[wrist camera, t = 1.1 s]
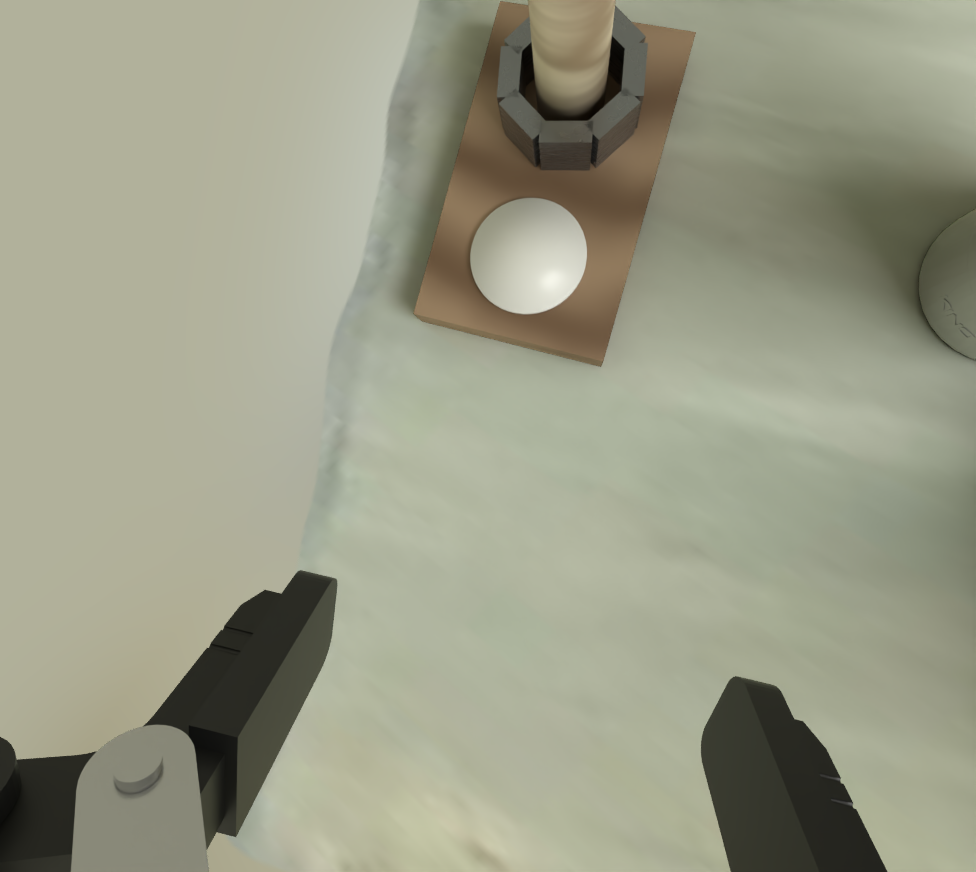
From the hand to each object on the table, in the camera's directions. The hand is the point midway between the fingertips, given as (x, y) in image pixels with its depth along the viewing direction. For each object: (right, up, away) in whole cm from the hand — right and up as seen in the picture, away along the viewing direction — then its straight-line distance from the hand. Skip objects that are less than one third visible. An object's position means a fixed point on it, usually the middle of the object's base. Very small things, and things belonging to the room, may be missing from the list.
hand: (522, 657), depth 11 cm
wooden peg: (+4, +24, +22) cm, 33 cm away
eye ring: (+4, +24, +22) cm, 33 cm away
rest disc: (+2, +15, +22) cm, 27 cm away
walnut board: (+3, +20, +24) cm, 31 cm away
